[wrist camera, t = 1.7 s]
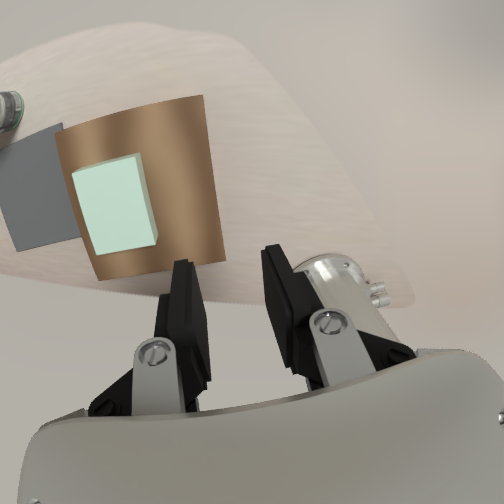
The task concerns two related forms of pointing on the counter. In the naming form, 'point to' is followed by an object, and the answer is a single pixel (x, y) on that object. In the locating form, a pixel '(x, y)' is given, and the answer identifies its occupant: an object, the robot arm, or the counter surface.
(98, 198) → the mint green block
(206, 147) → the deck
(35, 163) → the mat
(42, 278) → the counter surface
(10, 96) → the pill bottle
